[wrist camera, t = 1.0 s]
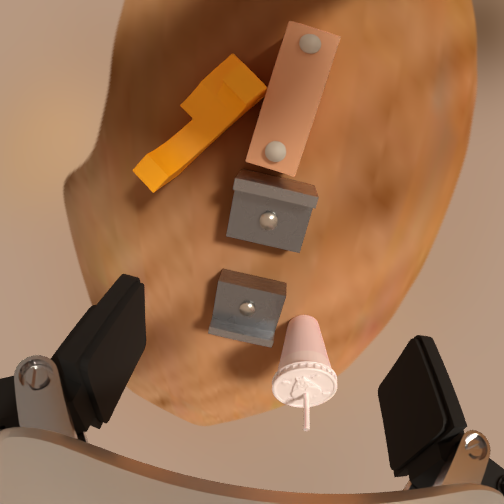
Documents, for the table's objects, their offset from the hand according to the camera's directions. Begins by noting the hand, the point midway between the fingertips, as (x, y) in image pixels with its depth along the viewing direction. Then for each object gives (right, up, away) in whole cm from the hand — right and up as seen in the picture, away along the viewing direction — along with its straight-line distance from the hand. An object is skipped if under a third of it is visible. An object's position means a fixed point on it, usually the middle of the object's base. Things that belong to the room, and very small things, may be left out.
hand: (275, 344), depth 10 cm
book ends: (0, +3, +22) cm, 23 cm away
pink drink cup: (+5, -6, +26) cm, 27 cm away
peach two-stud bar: (+3, +17, +15) cm, 23 cm away
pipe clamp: (-5, +16, +17) cm, 24 cm away
